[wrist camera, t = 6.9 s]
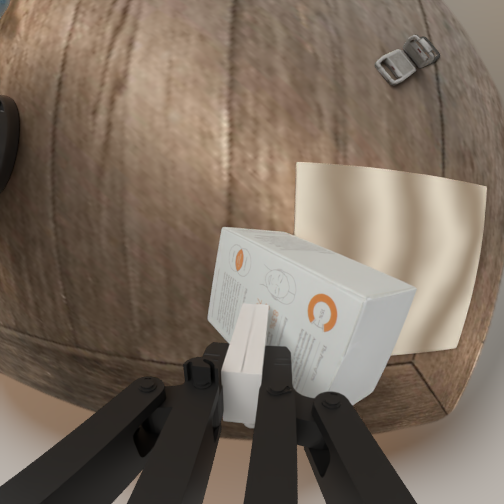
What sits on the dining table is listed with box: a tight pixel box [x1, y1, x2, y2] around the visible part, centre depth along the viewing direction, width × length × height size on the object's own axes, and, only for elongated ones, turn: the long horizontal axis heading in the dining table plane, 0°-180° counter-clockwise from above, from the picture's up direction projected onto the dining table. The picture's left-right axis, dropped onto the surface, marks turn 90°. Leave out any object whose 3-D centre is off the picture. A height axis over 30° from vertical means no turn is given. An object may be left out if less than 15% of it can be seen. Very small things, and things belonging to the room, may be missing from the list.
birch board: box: [294, 162, 487, 355], centre depth 24 cm, size 20×18×1 cm
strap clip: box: [375, 35, 440, 85], centre depth 18 cm, size 8×3×4 cm, turn 128°
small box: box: [208, 227, 417, 405], centre depth 19 cm, size 8×6×13 cm
